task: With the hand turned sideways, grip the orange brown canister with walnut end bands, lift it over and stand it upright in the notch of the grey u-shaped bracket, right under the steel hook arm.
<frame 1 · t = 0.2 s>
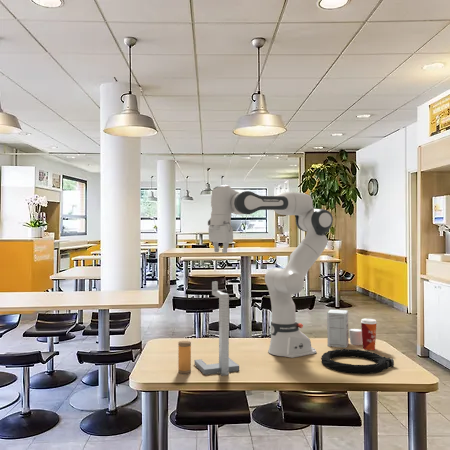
hand: (220, 252, 202), 47 cm above the table, tool pointing down, fingers open, 8 cm apart
paper cup: (368, 349, 219), on the table
supplement box: (338, 345, 226), on the table
white short cylinder: (356, 344, 229), on the table
hook stand: (223, 374, 181), on the table
grey u-shaped bracket: (216, 367, 189), on the table
cable lock: (356, 365, 194), on the table
orange brown canister: (184, 371, 184), on the table
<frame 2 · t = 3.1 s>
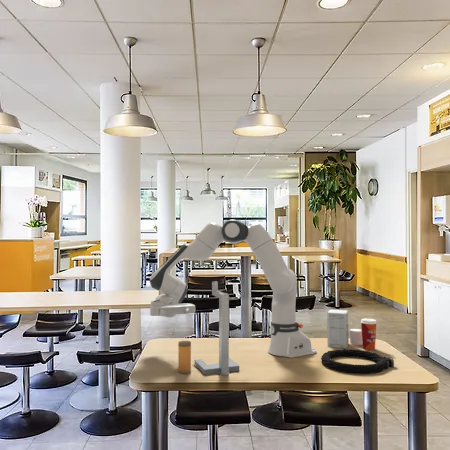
hand: (176, 312, 196), 22 cm above the table, tool horizontal, fingers open, 8 cm apart
nothing on the table moved.
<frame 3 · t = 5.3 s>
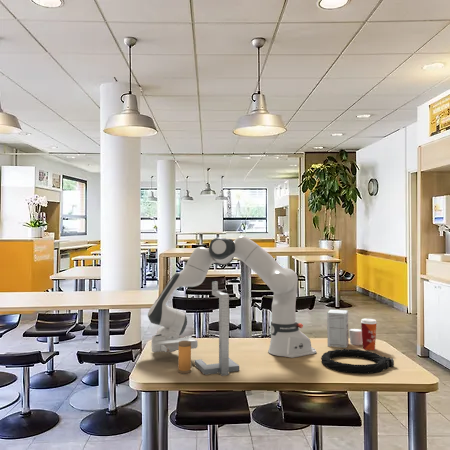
hand: (178, 349, 192), 7 cm above the table, tool horizontal, fingers open, 8 cm apart
nothing on the table moved.
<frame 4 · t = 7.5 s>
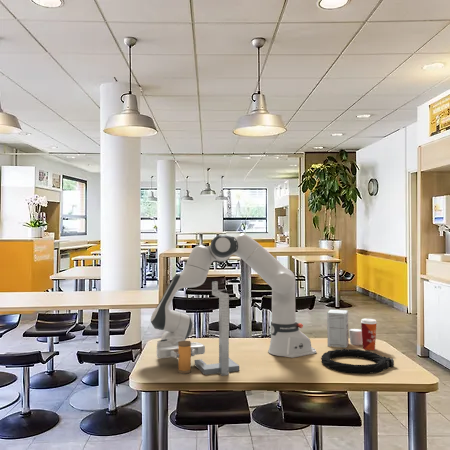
hand: (185, 355, 183), 7 cm above the table, tool horizontal, fingers closed on orange brown canister, 5 cm apart
orange brown canister: (184, 371, 184), on the table, touching gripper
everything else where it was.
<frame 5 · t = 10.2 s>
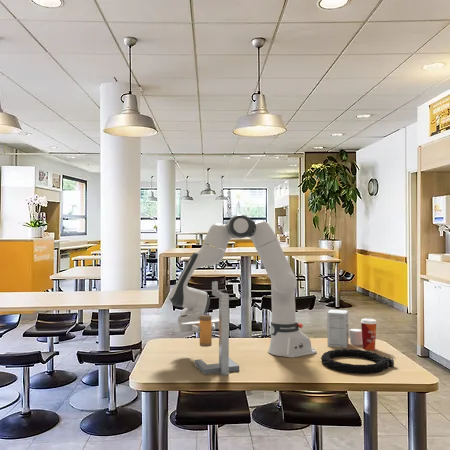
hand: (206, 328, 189), 16 cm above the table, tool horizontal, fingers closed on orange brown canister, 5 cm apart
orange brown canister: (205, 345, 190), point 9 cm above the table, touching gripper
everything else where it was.
when the fingers open (8 cm above the table, at t = 12.8 s): orange brown canister drops 1 cm, on the table.
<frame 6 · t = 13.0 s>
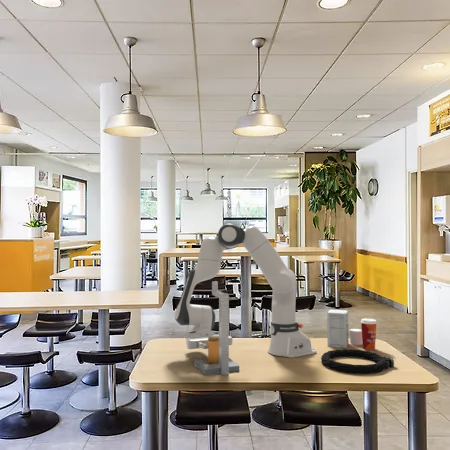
hand: (214, 346, 191), 8 cm above the table, tool horizontal, fingers open, 7 cm apart
orange brown canister: (214, 365, 192), on the table
everything else where it was.
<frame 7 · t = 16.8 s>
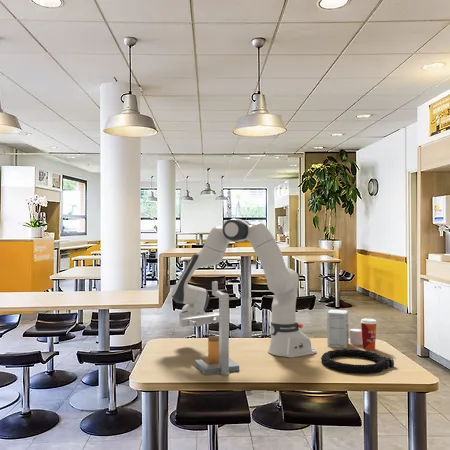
hand: (205, 322, 205), 15 cm above the table, tool horizontal, fingers open, 8 cm apart
nothing on the table moved.
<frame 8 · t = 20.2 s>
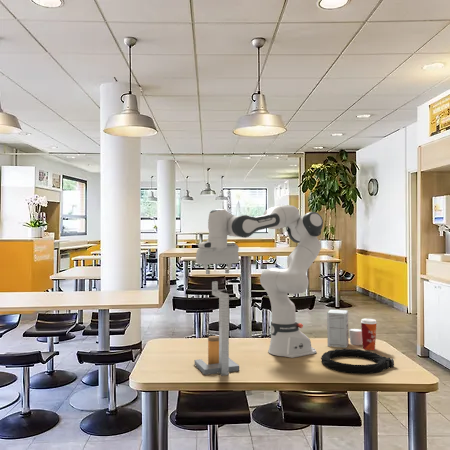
hand: (217, 273, 210), 37 cm above the table, tool pointing down, fingers open, 8 cm apart
nothing on the table moved.
at the end: orange brown canister 0.1 cm from the target spot, on the table; orange brown canister tilted 0°; the gripper is holding nothing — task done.
